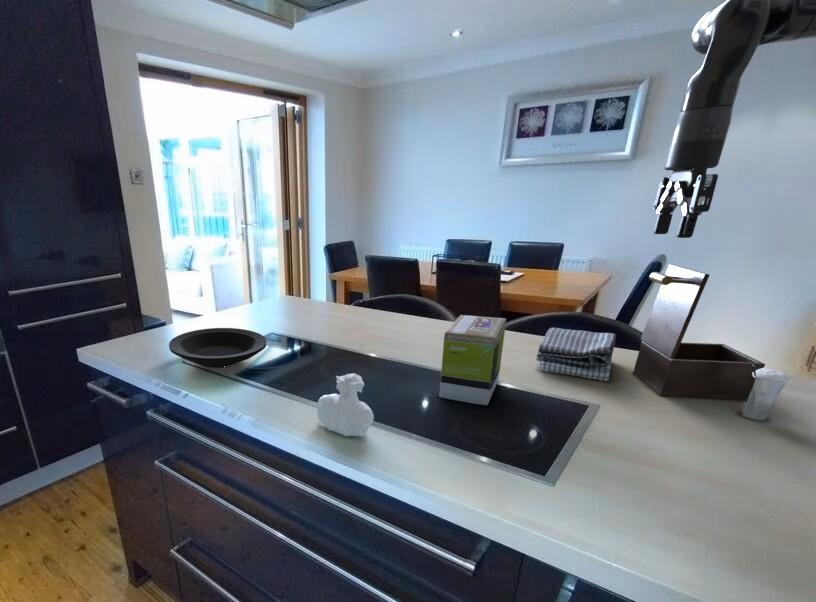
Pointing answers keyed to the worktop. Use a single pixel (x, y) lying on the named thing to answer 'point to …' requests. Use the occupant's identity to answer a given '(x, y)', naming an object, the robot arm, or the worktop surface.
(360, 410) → the bust
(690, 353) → the chest
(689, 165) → the robot arm
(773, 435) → the worktop surface
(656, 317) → the lid
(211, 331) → the plate
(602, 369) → the towel
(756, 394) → the milkshake
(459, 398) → the tea box
